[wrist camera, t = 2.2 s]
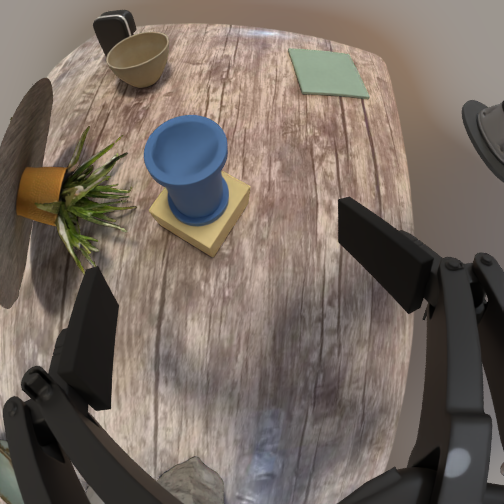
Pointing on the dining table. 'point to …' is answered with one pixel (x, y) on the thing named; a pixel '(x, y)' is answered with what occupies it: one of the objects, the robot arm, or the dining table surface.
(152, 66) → the beige round container
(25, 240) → the potted plant
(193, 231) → the platform
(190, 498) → the decorative stone
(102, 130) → the dining table surface
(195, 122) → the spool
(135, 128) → the dining table surface
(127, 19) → the battery charger
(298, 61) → the mat
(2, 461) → the bowl
